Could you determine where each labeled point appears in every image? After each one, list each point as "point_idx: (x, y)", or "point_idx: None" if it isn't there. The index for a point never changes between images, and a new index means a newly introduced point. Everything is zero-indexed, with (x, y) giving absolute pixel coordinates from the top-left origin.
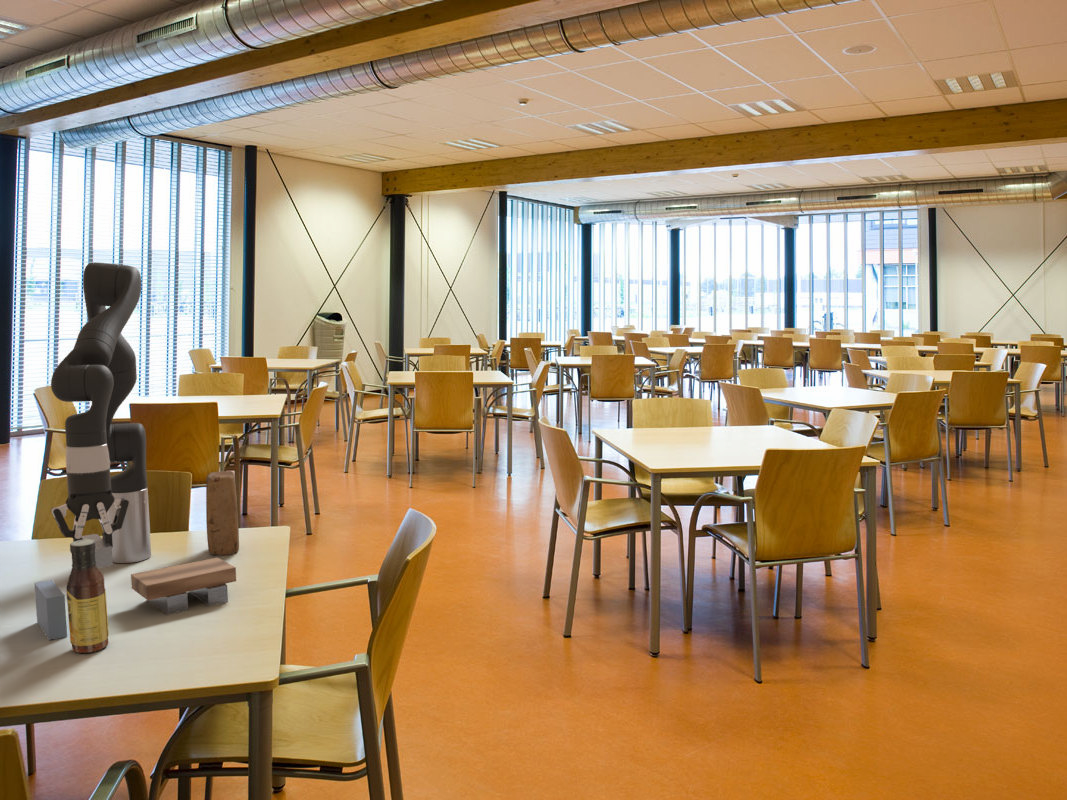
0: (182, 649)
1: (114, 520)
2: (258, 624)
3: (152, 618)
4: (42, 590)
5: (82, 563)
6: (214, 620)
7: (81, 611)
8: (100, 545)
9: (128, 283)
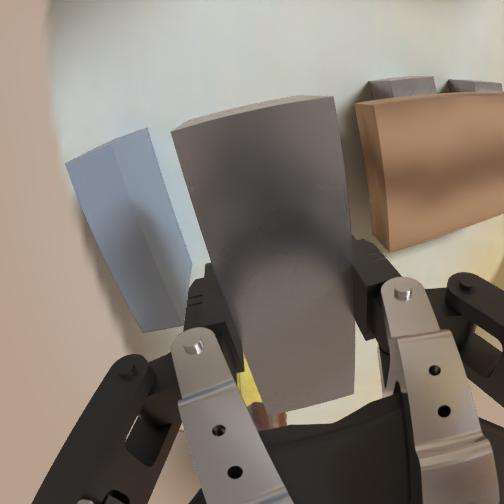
0: (359, 366)
1: (474, 318)
2: None
3: (361, 222)
4: (109, 260)
5: None
6: (435, 277)
7: None
8: (318, 378)
9: None
